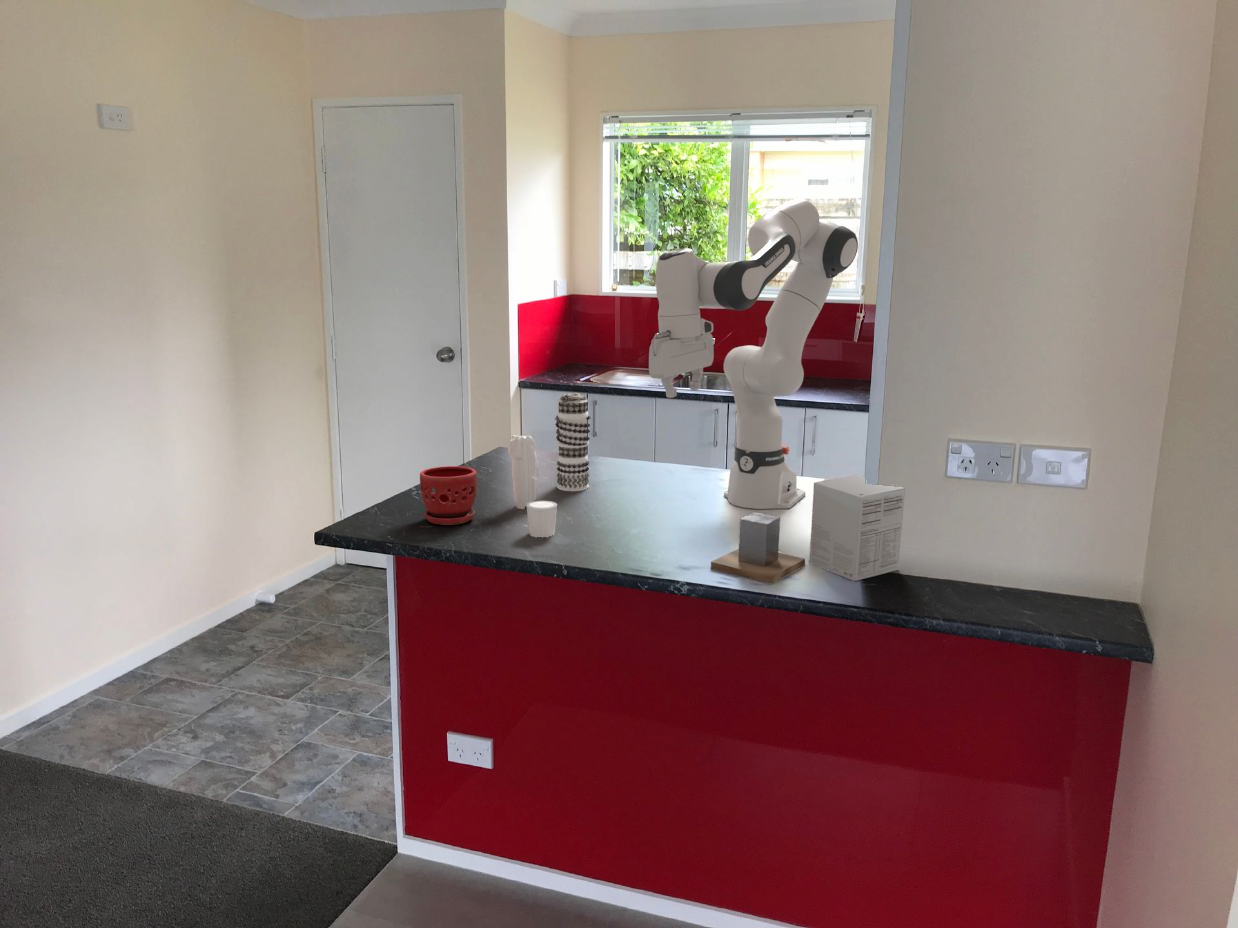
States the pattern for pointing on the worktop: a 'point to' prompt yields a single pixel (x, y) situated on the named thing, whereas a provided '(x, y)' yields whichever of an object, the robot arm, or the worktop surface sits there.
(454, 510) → the plant pot
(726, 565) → the tang block
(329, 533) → the worktop surface
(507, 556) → the worktop surface
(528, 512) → the white short cylinder
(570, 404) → the decorative candle
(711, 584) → the worktop surface
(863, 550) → the supplement box
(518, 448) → the white figurine
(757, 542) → the grey rectangular block
